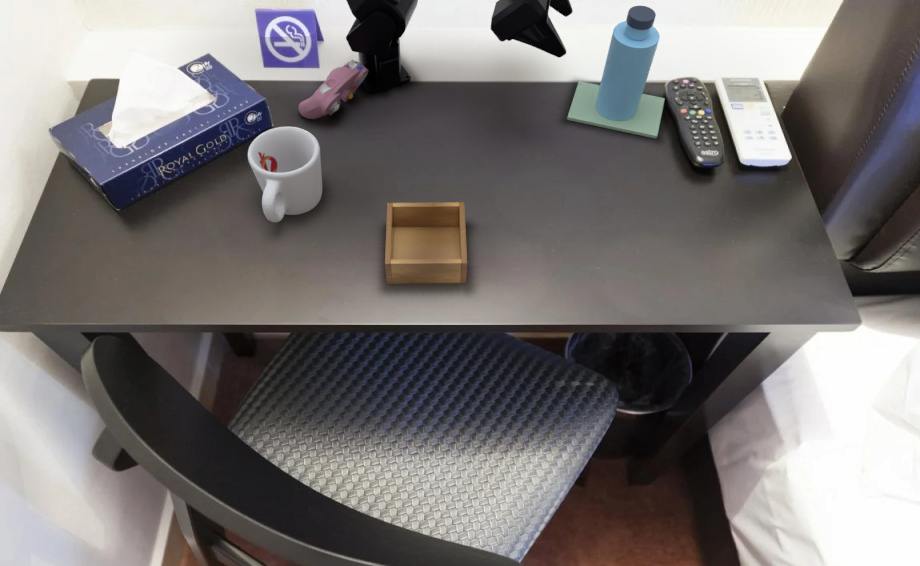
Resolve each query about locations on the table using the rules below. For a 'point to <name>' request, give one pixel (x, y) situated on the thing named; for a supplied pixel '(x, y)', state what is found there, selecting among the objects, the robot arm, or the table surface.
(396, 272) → the open wooden box
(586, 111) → the mat
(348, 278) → the table surface
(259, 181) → the cup
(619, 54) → the bottle
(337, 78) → the pink toy car
